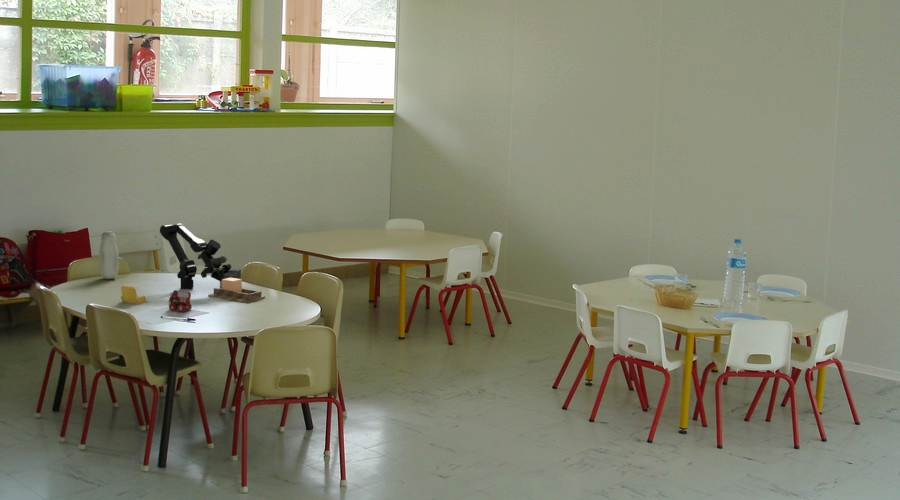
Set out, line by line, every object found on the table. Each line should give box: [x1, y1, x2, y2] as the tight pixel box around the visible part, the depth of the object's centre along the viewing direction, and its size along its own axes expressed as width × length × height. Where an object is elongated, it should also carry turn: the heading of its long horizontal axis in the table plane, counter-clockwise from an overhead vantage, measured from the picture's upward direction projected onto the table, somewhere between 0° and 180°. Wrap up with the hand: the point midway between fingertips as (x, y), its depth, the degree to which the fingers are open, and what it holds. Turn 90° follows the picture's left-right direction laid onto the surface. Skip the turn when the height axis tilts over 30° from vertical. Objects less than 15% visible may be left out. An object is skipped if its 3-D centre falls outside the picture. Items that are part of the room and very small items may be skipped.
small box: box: [219, 268, 242, 289], centre depth 555 cm, size 11×6×10 cm, turn 84°
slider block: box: [221, 278, 243, 293], centre depth 532 cm, size 8×7×8 cm
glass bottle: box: [98, 230, 120, 280], centre depth 567 cm, size 10×10×28 cm
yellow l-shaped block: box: [120, 285, 148, 305], centre depth 511 cm, size 10×10×9 cm
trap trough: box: [207, 287, 266, 304], centre depth 531 cm, size 26×16×4 cm, turn 60°
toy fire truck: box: [168, 289, 193, 314], centre depth 495 cm, size 7×12×10 cm, turn 69°
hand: (224, 282), depth 535 cm, fingers closed
